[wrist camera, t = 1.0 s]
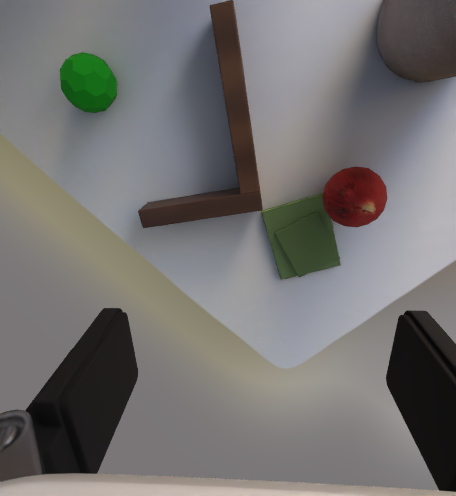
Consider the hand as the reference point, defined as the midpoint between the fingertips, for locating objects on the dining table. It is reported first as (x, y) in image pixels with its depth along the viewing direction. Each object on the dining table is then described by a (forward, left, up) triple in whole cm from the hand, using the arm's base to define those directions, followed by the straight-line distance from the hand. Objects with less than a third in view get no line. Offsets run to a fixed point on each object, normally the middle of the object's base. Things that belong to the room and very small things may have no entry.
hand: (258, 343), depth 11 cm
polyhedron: (-13, -14, -26) cm, 32 cm away
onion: (+2, +10, -26) cm, 28 cm away
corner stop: (-7, -6, -26) cm, 28 cm away
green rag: (+7, +5, -26) cm, 28 cm away
